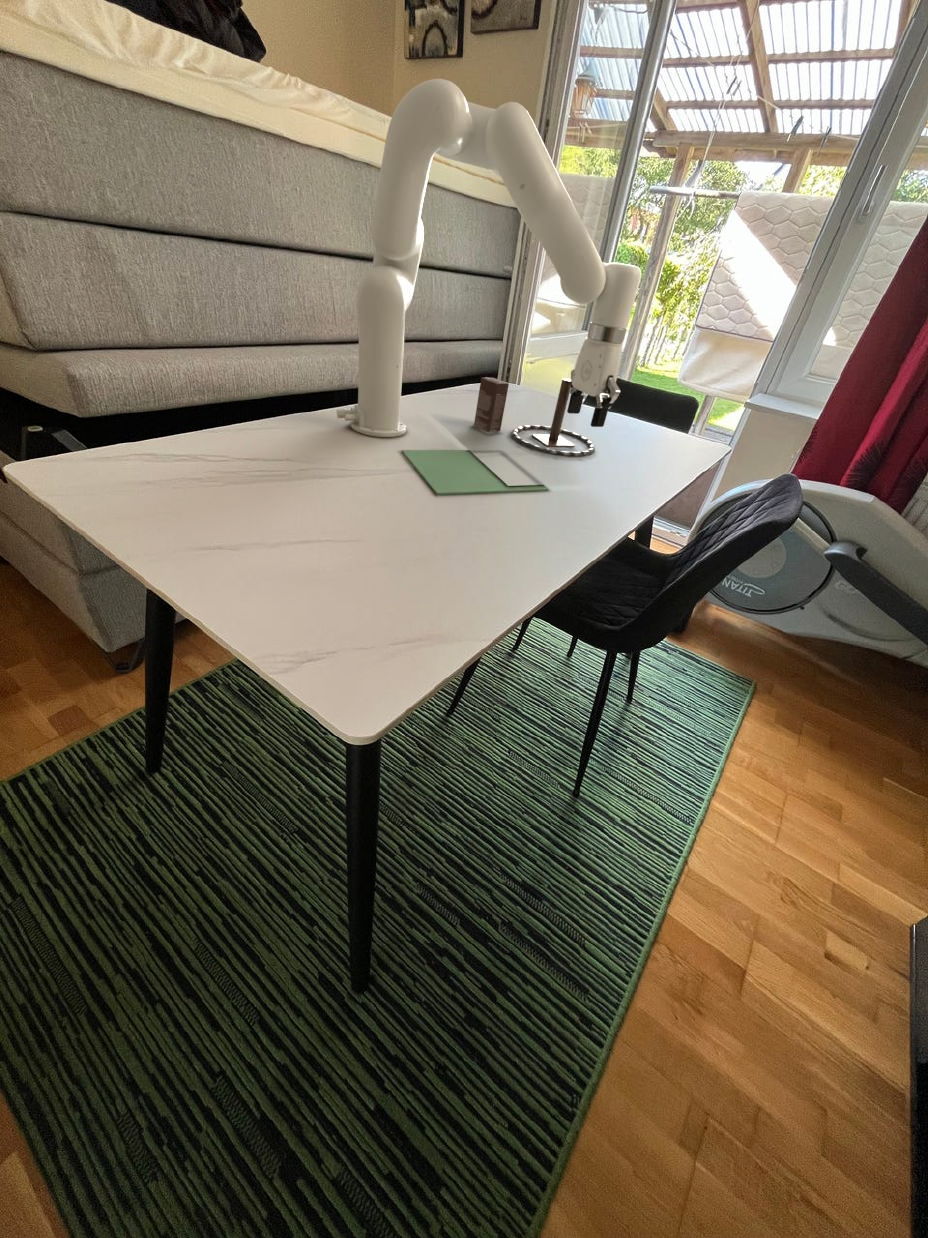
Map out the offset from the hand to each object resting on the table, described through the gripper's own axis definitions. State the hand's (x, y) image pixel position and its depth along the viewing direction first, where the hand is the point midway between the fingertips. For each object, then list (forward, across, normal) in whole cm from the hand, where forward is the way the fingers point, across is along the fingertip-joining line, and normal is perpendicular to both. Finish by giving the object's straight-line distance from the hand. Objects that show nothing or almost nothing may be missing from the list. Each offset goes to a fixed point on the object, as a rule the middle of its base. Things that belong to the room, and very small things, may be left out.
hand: (584, 419), depth 117 cm
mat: (+9, +6, -29) cm, 31 cm away
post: (+9, -10, 0) cm, 14 cm away
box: (+9, -20, -14) cm, 26 cm away
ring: (+8, -10, 0) cm, 13 cm away
